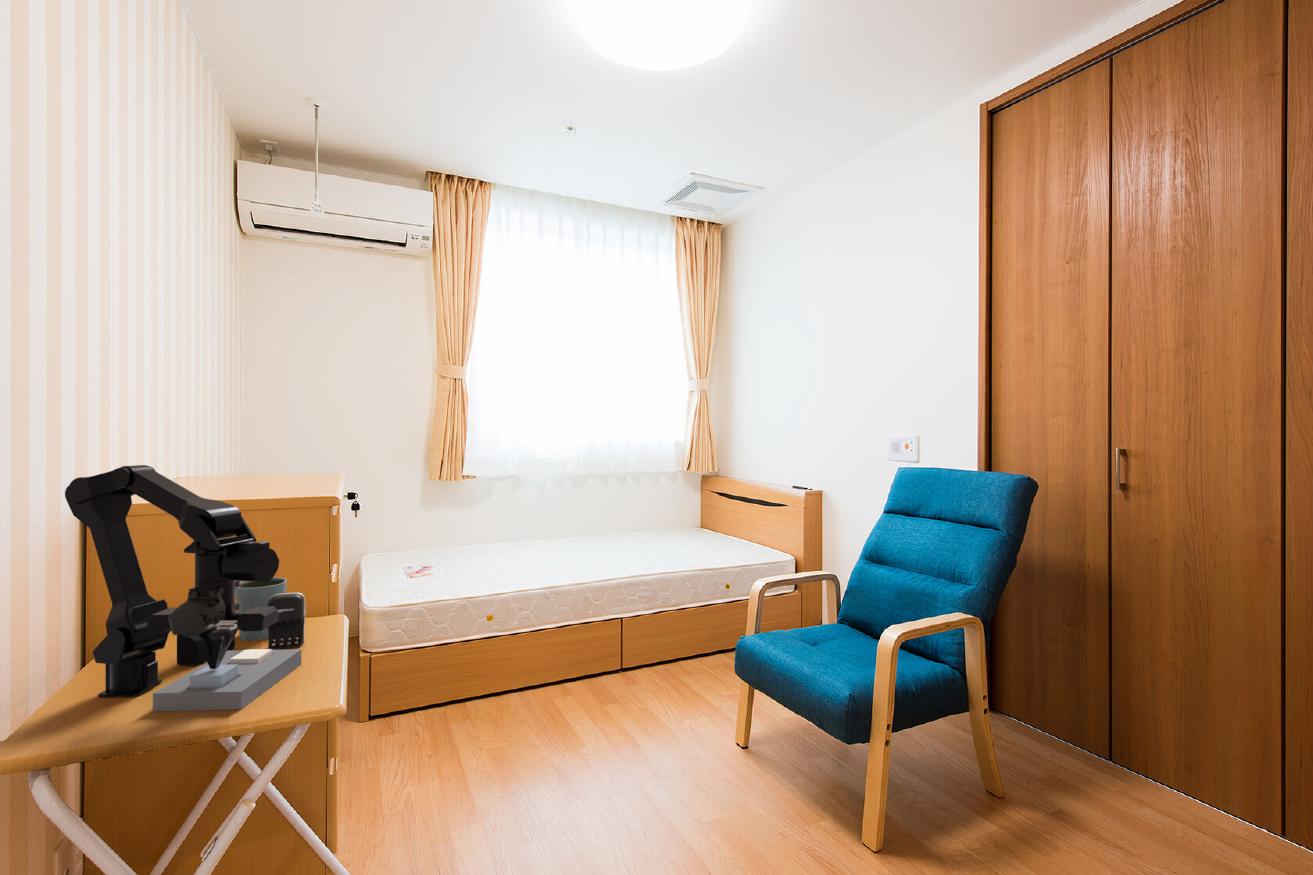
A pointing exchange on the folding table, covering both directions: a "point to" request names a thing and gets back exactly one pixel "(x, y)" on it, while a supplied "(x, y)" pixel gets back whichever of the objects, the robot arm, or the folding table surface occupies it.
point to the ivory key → (251, 656)
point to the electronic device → (192, 651)
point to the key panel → (228, 685)
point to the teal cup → (257, 601)
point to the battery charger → (287, 621)
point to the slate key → (214, 677)
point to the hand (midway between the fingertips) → (214, 668)
